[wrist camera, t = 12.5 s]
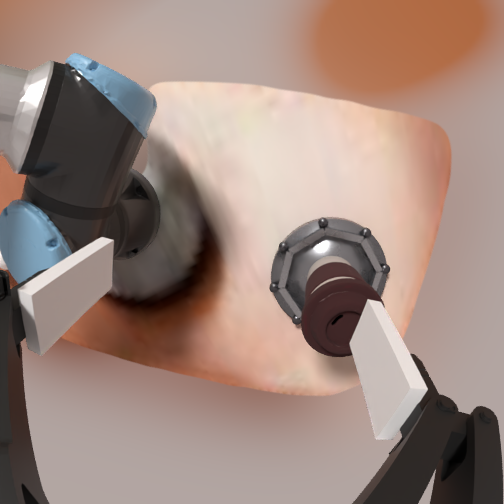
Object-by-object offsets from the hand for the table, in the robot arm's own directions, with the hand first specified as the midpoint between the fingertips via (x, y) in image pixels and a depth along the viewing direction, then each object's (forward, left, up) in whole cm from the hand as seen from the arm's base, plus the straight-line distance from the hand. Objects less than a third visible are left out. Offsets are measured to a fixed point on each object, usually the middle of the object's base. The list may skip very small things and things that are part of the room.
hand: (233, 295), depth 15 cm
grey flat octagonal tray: (+12, -10, -32) cm, 35 cm away
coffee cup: (+12, -10, -31) cm, 34 cm away
